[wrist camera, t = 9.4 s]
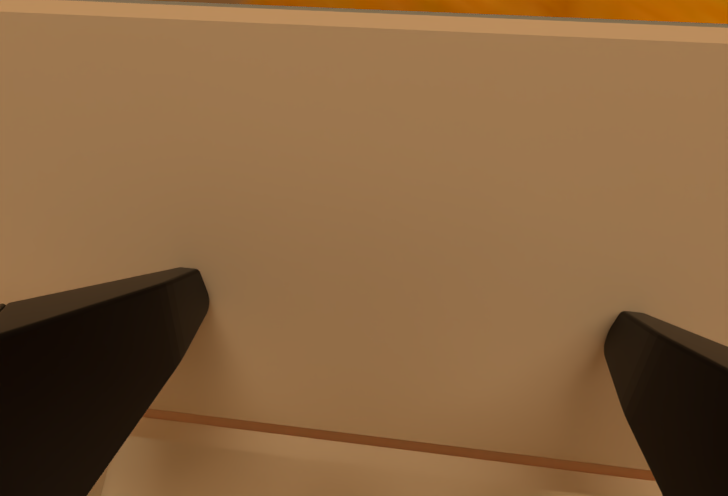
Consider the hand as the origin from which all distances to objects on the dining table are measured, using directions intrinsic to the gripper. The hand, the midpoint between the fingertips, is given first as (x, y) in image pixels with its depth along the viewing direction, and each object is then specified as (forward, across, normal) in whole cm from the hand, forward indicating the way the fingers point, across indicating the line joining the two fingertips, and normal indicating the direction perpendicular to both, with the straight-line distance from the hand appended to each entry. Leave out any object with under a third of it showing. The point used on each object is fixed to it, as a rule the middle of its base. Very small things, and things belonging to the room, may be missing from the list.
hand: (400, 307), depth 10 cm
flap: (0, 0, 0) cm, 1 cm away
